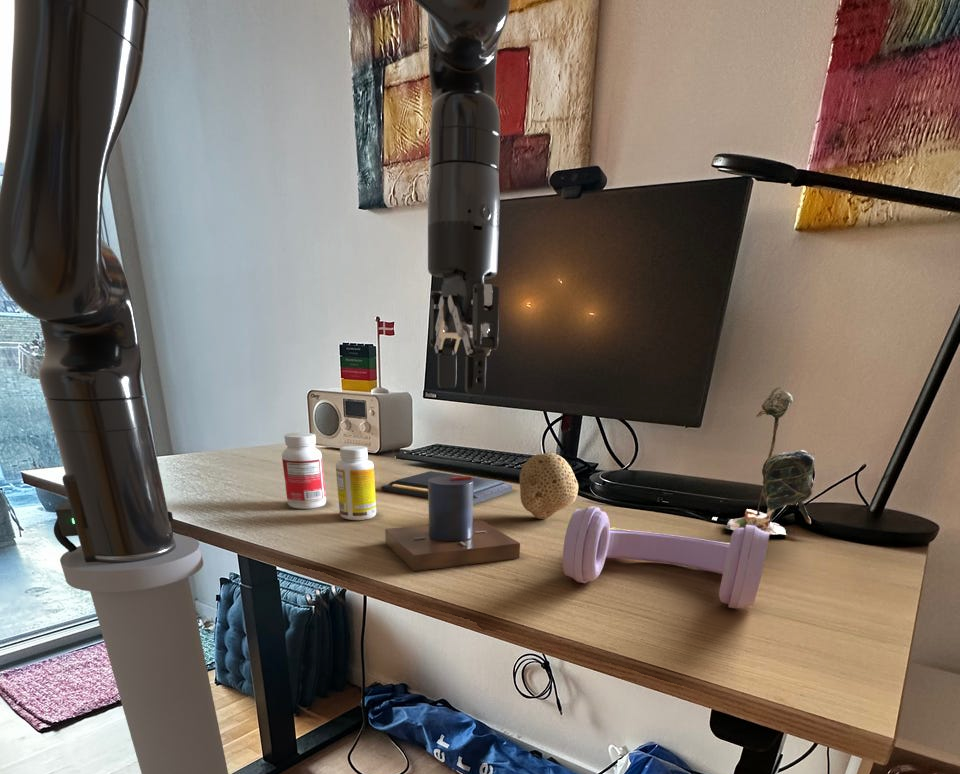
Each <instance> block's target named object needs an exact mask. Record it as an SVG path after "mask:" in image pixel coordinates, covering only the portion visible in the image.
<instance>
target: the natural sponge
mask: <svg viewBox="0 0 960 774" xmlns="http://www.w3.org/2000/svg"><path fill="white" fill-rule="evenodd" d="M519 490H520V491H519V493H520V501H521V504H522V506H523V508H524V509H525V510H526V511H527V512H529V513H530V514H531V515H532V516H534V517H535V518H536V519H539V520H545V519H549V518H551V517H552V516H554V515H555V514H556V513H557V512H559V511H561V510H564V509H565V508H567V507H569V506H570V505H572V504H573V503H574V502H575V501H576V499H577V497H578V492H579V482H578V480H577V478H576V476H575V473H574V471H573V469H572V467H571V465H570V464H569V462H568V461H567V460H566V459H565V458H563V457H562V456H561V455H559V454H557V453H555V452H545V453H537V454H535V455H532V457H530V458H529V459H527V460H526V462H525V463H524V464H523V465H522V467H521V469H520V472H519Z"/></svg>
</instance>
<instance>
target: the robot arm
mask: <svg viewBox="0 0 960 774" xmlns="http://www.w3.org/2000/svg"><path fill="white" fill-rule="evenodd" d="M413 1H414V3H416V4H417V5H418V6H419V7H420V8H421V9H423V10H424V11H425V12H426V13H427V14H428V17H427V18H428V19H427V20H428V21H427V50H428V52H427V53H428V69H429V84H430V97H431V111H430V112H431V113H430V114H431V115H430V124H429V125H430V127H429V139H430V140H429V182H428V191H427V271H428V273H429V274H430V275H431V276H433V277H435V278H440V279H441V281H442V283H441V291H440V290H431V292H430V296H429V297H430V300H429V301H430V302H429V303H430V305H429V347H430V348H434V353H435V354H437V386H438V387H439V388H440V389H454V388H456V387H457V372H458V371H457V368H458V367H457V366H458V365H457V364H458V363H457V361H458V355H457V353H458V348H459V345H460V342H461V340H462V342H463V346H464V350H465V354H466V356H465V357H464V358H465V359H464V361H465V365H464V391H465V393H467V394H470V395H483V394H484V393H485V392H486V388H487V387H486V386H487V385H486V381H487V358H488V357H489V356H490V355H491V351H496V350H497V349H498V347H499V325H500V324H499V322H500V321H499V319H500V318H499V317H500V287H499V285H498V284H491V283H485V280H491V279H494V278H495V277H496V276H497V275H498V265H499V264H498V263H499V261H498V260H499V240H500V239H499V237H500V236H499V235H500V215H501V214H500V213H501V194H500V193H501V192H500V179H499V177H500V173H499V171H500V149H501V117H500V115H501V114H500V110H499V106H498V104H497V102H496V86H497V84H496V83H497V60H498V49H499V43H500V39H501V37H502V34H503V32H504V29H505V27H506V25H507V21H508V19H509V14H510V8H511V0H413ZM13 2H14V3H13V4H14V6H13V7H14V10H13V11H14V12H13V14H14V16H13V42H12V43H13V44H12V61H11V82H10V114H9V115H10V117H9V131H8V141H7V149H6V155H5V161H4V168H3V173H2V179H1V184H0V284H1V286H2V287H3V289H4V291H5V292H6V294H7V295H8V296H9V297H10V299H11V300H12V301H13V302H14V303H15V304H16V305H17V306H18V307H19V308H20V309H21V310H23V311H24V312H25V313H26V314H29V315H30V316H32V317H33V318H36V319H39V323H40V324H39V325H40V329H41V333H42V337H43V343H44V356H43V361H42V362H41V365H40V367H39V369H38V379H39V383H40V387H41V391H42V394H43V397H44V400H45V405H46V408H47V411H48V416H49V419H50V422H51V426H52V429H53V430H52V431H53V434H54V437H55V441H56V444H57V447H58V451H59V456H60V459H61V462H62V466H63V470H64V475H63V476H62V484H63V487H64V490H65V491H64V492H65V494H66V497H67V499H63V500H62V501H61V502H60V503H59V505H58V506H57V507H56V509H55V511H54V512H55V514H56V520H55V522H54V526H53V534H54V536H55V539H56V541H57V542H58V543H60V545H62V547H64V549H66V550H67V552H68V551H69V552H73V551H75V550H76V549H77V547H78V546H77V545H75V544H74V543H73V542H72V541H71V540H70V539H69V538H68V537H78V541H79V544H80V545H79V546H81V548H82V552H83V555H84V559H85V562H105V563H126V562H135V561H142V560H147V559H152V558H156V557H159V556H162V555H165V554H167V553H169V552H171V551H173V550H174V549H175V548H176V544H175V539H174V538H173V534H174V533H173V527H172V524H171V523H173V524H174V516H173V512H172V511H169V510H168V505H167V500H166V496H165V491H164V486H163V485H164V484H163V481H162V476H161V472H160V467H159V462H158V457H157V451H156V448H155V443H154V437H153V433H152V428H151V423H150V418H149V414H148V408H147V404H146V399H145V395H144V389H143V383H142V370H143V362H142V361H143V360H142V351H141V346H140V339H139V333H138V329H137V322H136V316H135V311H134V307H133V301H132V296H131V291H130V287H129V282H128V279H127V276H126V272H125V270H124V268H123V265H122V263H121V261H120V259H119V257H118V256H117V254H116V253H115V251H114V250H113V249H112V248H111V247H110V245H109V244H108V242H106V241H104V239H103V238H102V223H103V222H102V221H103V219H102V218H103V203H104V202H103V201H104V189H105V183H106V175H107V170H108V167H109V163H110V159H111V157H112V153H113V151H114V149H115V146H116V144H117V142H118V139H119V137H120V135H121V133H122V131H123V129H124V127H125V124H126V122H127V119H128V117H129V114H130V112H131V110H132V108H133V105H134V101H135V99H136V96H137V93H138V89H139V86H140V85H139V84H140V80H141V75H142V70H143V64H144V57H145V48H146V40H147V31H148V23H149V14H150V13H149V12H150V0H14V1H13ZM488 334H489V335H488Z"/></svg>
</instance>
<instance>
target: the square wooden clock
mask: <svg viewBox="0 0 960 774" xmlns="http://www.w3.org/2000/svg"><path fill="white" fill-rule="evenodd" d="M384 533H385V535H384V536H385V544H386V545H387V546H388V547H389V548H390V549H391V550H392V551H393V552H394V553H395V554H396V555H397V556H398V557H399V558H400V559H401V560H402V561H403V562H404V563H405V564H406V565H407V566H408V567H409V568H410V569H412V570H413V572H418V571H419V572H421V571H429V570H436V569H437V570H438V569H444V568H451V567H452V568H453V567H460V566H468V565H476V564H484V563H491V562H500V561H508V560H515V559H520V557H521V555H520V554H521V542H519V541H517V540H515V539H514V538H512V537H510V536H509V535H507V534H506V533H505V532H502V531H500V530H499V529H497V528H495V527H494V526H492V525H490V524H488V523H487V522H486V521H484V520H482V519H477V520H475V519H474V520H473V532H472V537H471V538H470V539H467V540H463V541H454V542H449V541H439V540H435V539H432V538H431V537H430V536H429V524H423V525H412V526H404V527H403V526H401V527H391V528H385V529H384Z"/></svg>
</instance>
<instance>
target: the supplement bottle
mask: <svg viewBox="0 0 960 774" xmlns="http://www.w3.org/2000/svg"><path fill="white" fill-rule="evenodd" d="M339 456H340V460H338V461H337V462H336V463H335V475H336V487H337V498H338V507H339V508H338V509H339V510H338V511H339V515H340V516H341V518H343V519H346V520H350V521H364V520H369V519H372V518H374V517H376V515H377V499H376V498H377V497H376V484H375V467H374V463H373V461H371V460H369V458H368V457H369V454H368V447H366V446H362V445H348V446H341V447H340V448H339Z"/></svg>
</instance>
